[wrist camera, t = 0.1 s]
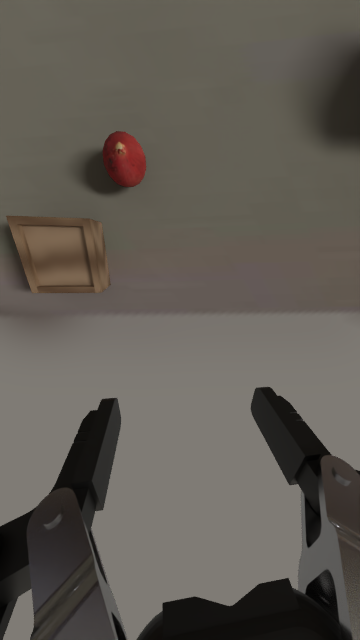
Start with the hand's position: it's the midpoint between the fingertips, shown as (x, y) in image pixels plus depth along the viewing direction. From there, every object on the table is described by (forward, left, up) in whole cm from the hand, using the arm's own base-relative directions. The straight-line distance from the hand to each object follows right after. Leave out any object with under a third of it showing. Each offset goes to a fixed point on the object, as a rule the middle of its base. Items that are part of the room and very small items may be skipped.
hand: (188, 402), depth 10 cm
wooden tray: (-6, -17, -29) cm, 34 cm away
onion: (-19, -6, -29) cm, 35 cm away
